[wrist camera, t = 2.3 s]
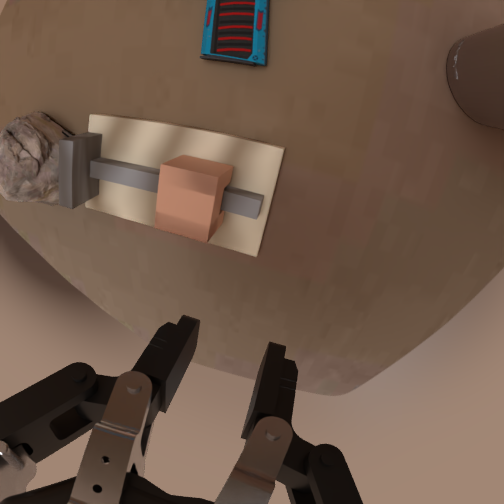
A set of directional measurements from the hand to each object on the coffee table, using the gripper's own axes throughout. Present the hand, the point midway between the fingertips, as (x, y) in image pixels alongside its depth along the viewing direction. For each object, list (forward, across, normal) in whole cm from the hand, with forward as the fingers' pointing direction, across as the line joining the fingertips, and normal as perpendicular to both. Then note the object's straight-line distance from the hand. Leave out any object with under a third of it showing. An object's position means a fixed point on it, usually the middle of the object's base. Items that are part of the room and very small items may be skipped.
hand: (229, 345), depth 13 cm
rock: (+20, +29, +1) cm, 35 cm away
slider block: (+18, +7, 0) cm, 19 cm away
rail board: (+19, +12, 0) cm, 22 cm away
